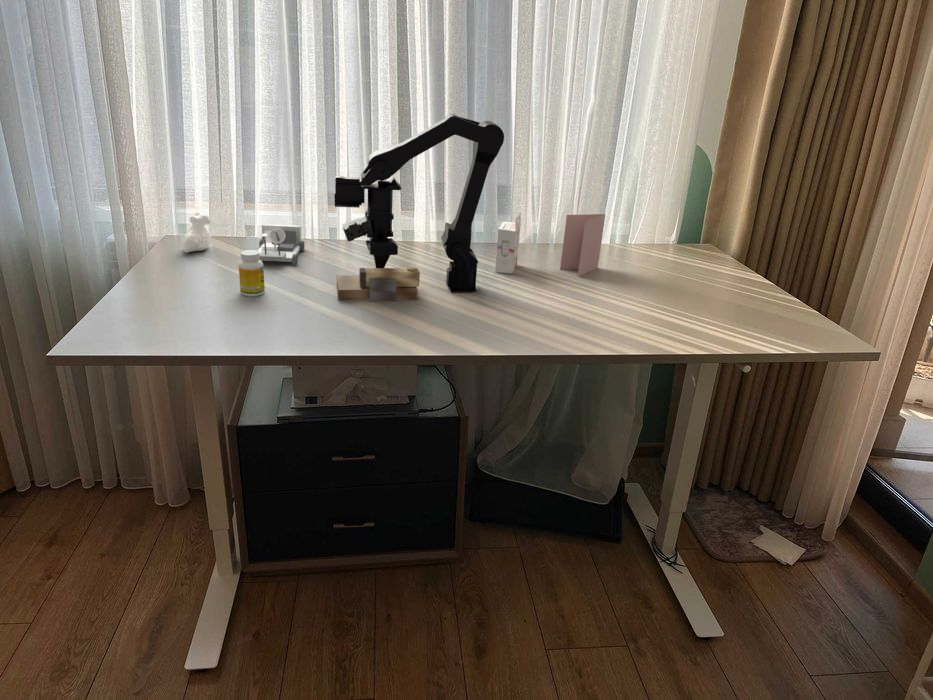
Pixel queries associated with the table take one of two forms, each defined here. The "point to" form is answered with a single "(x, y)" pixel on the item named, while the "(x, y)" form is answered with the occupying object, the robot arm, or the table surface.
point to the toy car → (280, 243)
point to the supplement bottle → (251, 274)
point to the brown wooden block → (373, 289)
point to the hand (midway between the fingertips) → (379, 273)
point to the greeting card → (582, 242)
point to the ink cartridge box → (508, 246)
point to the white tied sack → (197, 233)
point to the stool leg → (391, 276)
